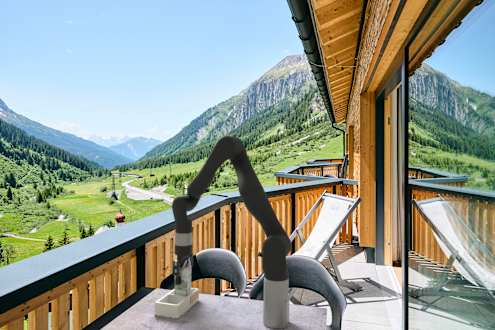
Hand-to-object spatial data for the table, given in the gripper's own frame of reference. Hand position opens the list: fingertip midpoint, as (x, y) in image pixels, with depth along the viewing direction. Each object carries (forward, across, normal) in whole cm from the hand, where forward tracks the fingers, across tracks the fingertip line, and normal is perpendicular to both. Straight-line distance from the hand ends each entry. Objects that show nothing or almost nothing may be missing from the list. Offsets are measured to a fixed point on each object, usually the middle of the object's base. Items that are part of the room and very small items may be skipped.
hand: (183, 281), depth 152 cm
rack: (+9, -4, 0) cm, 10 cm away
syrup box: (+8, 0, 0) cm, 8 cm away
